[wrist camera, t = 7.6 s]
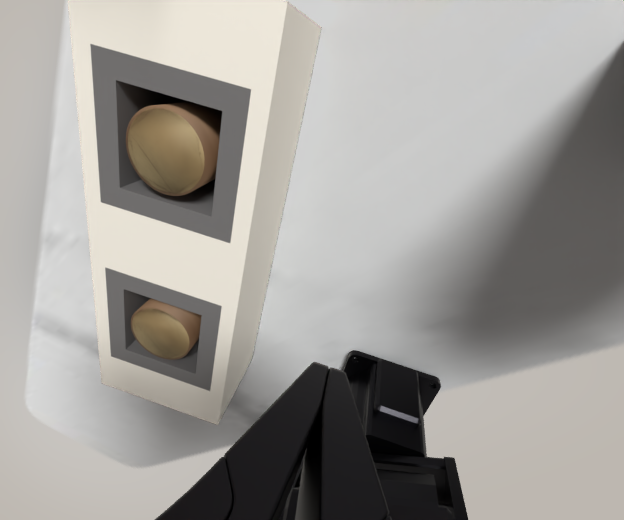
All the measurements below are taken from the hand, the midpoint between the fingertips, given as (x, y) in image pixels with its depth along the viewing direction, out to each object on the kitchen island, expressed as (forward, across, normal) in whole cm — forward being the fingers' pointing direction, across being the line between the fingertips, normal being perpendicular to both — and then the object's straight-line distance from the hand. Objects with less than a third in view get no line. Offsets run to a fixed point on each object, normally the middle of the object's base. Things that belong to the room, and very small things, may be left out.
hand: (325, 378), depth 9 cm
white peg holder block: (+13, +9, +3) cm, 16 cm away
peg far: (+13, +9, +8) cm, 17 cm away
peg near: (+13, +9, -2) cm, 16 cm away
